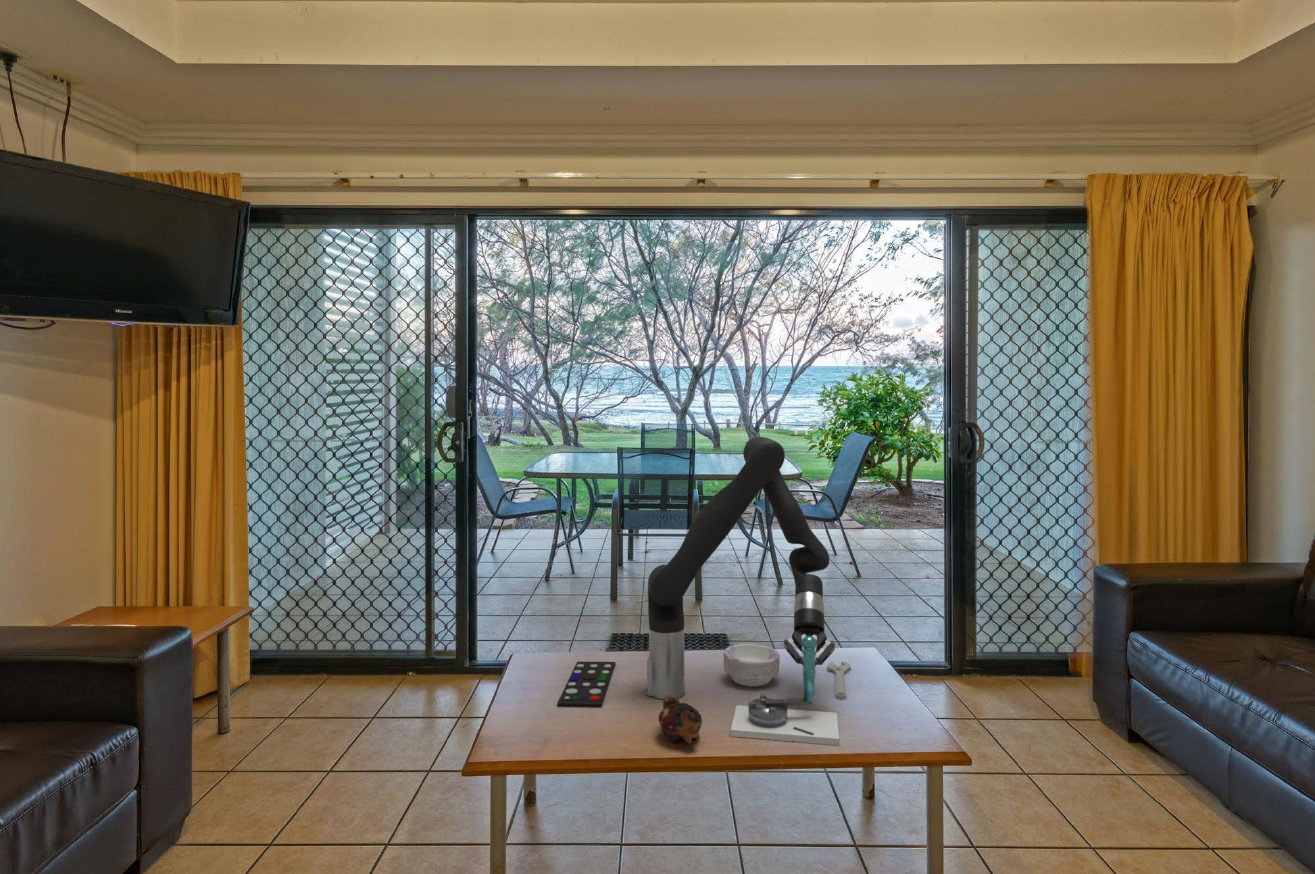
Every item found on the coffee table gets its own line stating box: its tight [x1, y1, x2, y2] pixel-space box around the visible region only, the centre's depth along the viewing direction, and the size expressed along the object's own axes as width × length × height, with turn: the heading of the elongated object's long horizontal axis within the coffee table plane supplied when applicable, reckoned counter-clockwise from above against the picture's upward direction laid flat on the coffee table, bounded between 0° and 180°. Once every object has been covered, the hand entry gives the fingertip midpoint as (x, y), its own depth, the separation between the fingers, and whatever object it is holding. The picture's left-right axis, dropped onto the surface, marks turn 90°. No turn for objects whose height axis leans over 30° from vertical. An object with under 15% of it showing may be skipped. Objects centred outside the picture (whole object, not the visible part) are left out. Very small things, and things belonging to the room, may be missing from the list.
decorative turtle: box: [658, 695, 703, 745], centre depth 167 cm, size 10×15×8 cm, turn 27°
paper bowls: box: [723, 643, 781, 688], centre depth 201 cm, size 15×15×8 cm
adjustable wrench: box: [826, 661, 852, 701], centre depth 201 cm, size 25×6×2 cm, turn 163°
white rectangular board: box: [730, 704, 840, 746], centre depth 172 cm, size 24×14×2 cm, turn 78°
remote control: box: [556, 661, 616, 709], centre depth 200 cm, size 11×30×2 cm, turn 177°
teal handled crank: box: [747, 636, 817, 727], centre depth 173 cm, size 16×9×19 cm, turn 97°
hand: (809, 679), depth 176 cm, fingers closed
